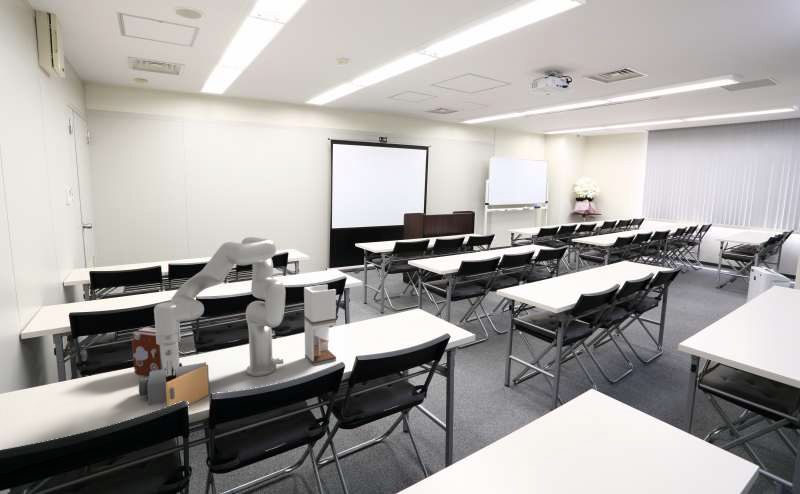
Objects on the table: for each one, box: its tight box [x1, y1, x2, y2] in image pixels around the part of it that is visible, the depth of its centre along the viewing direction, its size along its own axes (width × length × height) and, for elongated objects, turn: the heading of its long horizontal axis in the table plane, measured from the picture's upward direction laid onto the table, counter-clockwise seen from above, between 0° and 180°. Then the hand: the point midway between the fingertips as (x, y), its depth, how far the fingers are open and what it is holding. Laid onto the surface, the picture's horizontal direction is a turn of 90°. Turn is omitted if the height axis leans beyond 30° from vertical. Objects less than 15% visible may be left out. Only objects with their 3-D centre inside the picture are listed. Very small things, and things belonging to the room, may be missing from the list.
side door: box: [166, 364, 210, 408], centre depth 148 cm, size 17×2×12 cm, turn 154°
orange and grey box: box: [138, 361, 207, 406], centre depth 156 cm, size 23×12×8 cm, turn 118°
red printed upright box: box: [131, 326, 183, 378], centre depth 170 cm, size 9×19×20 cm, turn 78°
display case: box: [303, 284, 337, 367], centre depth 188 cm, size 11×11×35 cm
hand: (171, 384), depth 145 cm, fingers closed
